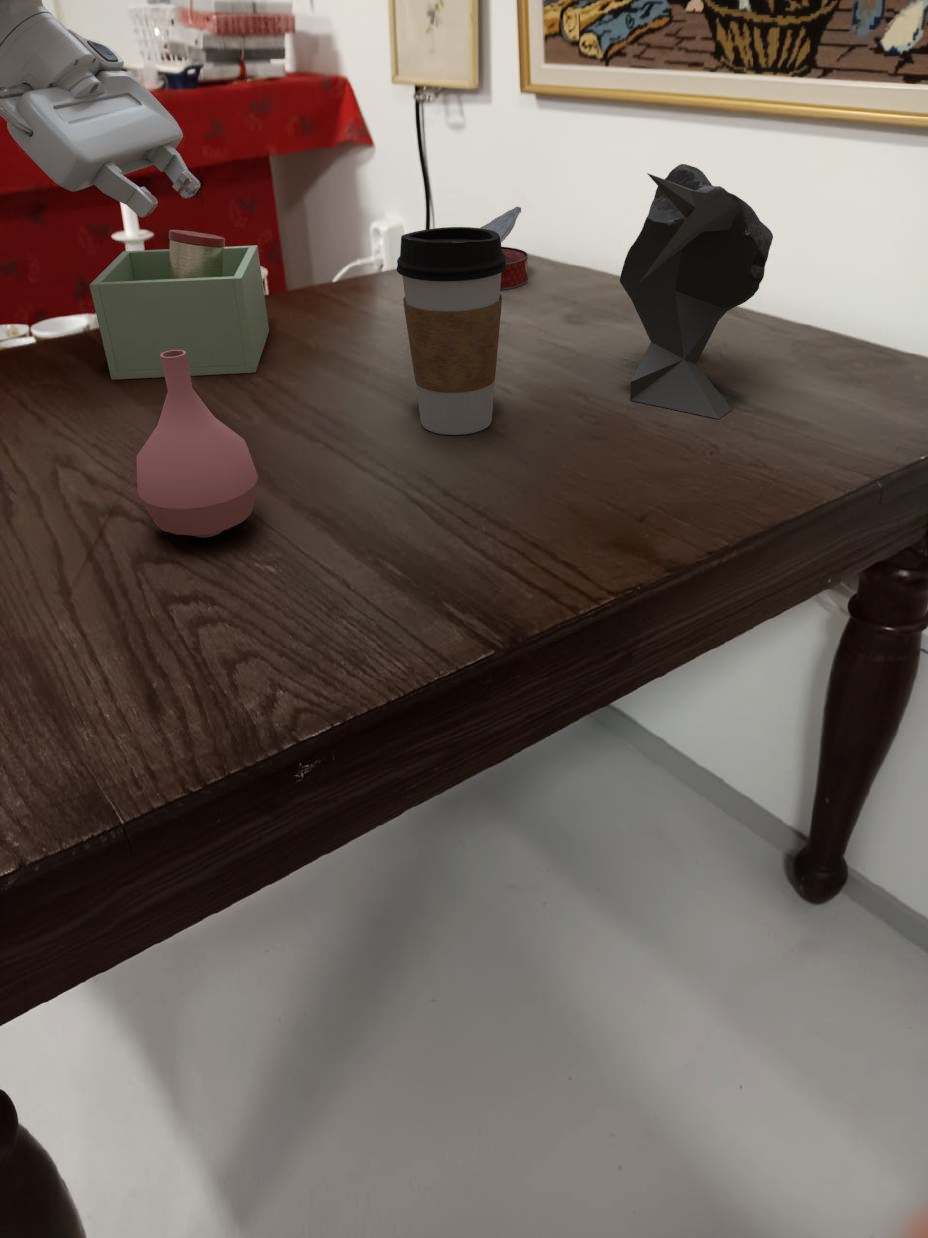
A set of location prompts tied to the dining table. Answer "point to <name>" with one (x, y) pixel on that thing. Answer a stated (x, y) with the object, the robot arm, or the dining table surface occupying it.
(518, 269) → the canned food
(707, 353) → the dining table surface
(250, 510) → the pink vase
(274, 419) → the dining table surface
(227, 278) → the tote
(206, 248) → the spice tin
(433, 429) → the coffee cup
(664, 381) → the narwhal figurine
